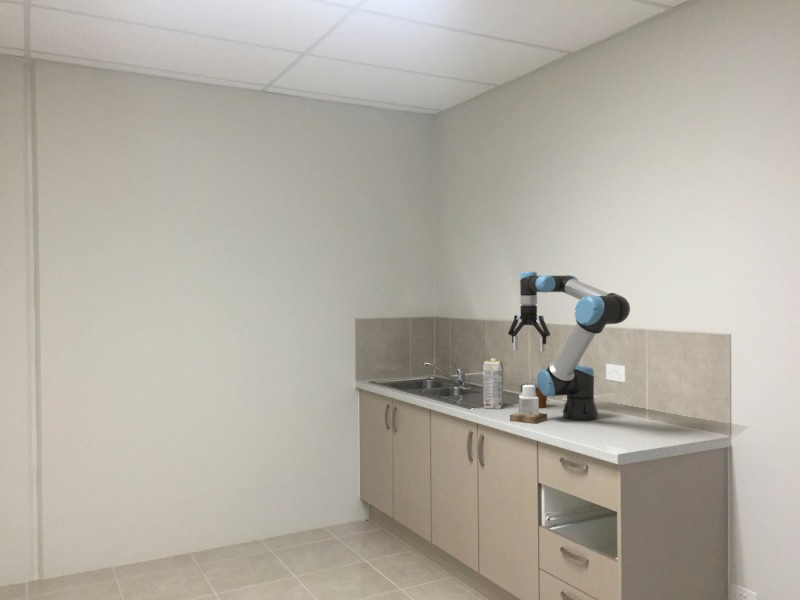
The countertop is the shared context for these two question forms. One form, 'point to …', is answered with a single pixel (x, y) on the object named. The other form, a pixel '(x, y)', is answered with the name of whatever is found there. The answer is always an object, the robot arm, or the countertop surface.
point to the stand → (528, 418)
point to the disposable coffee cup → (540, 396)
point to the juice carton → (493, 384)
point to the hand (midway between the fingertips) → (528, 350)
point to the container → (528, 400)
